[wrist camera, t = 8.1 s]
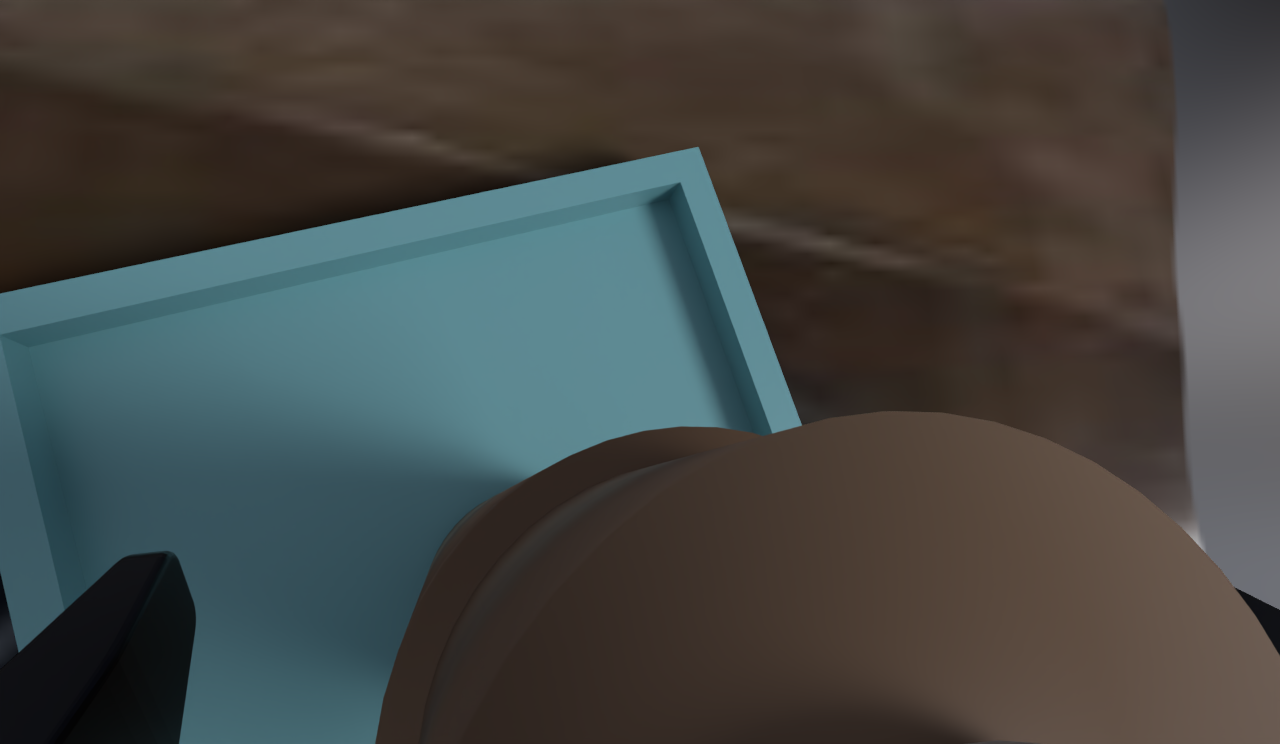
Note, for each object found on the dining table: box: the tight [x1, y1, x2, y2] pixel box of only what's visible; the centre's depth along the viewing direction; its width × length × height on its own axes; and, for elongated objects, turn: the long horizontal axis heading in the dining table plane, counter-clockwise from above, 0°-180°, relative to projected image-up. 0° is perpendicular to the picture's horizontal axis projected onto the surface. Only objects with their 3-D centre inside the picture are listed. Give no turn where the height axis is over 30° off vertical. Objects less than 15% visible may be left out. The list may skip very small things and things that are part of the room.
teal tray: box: [0, 147, 802, 744], centre depth 16 cm, size 18×16×2 cm
